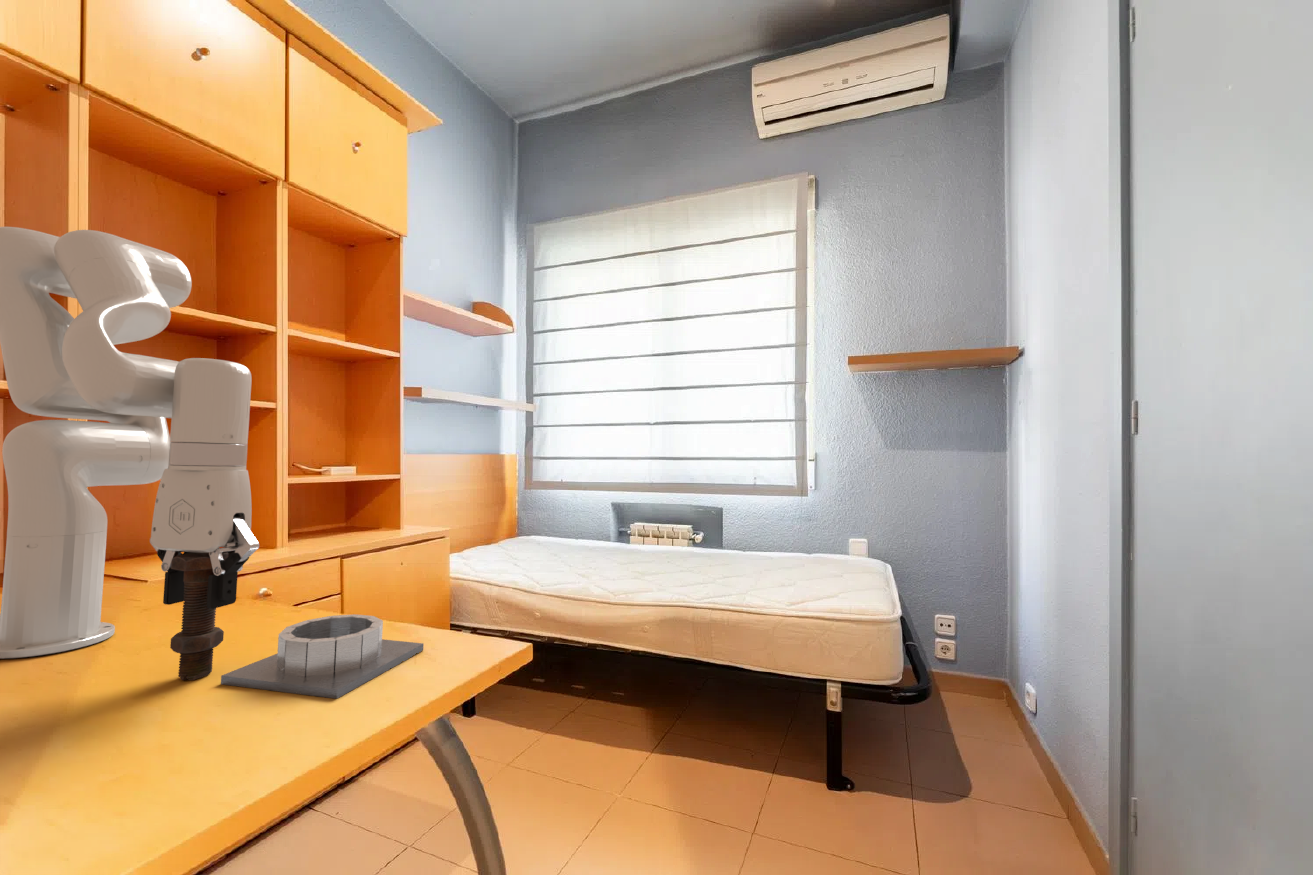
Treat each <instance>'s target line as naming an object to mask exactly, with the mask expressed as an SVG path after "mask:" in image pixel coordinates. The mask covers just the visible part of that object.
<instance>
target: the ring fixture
mask: <svg viewBox="0 0 1313 875" xmlns="http://www.w3.org/2000/svg"><path fill="white" fill-rule="evenodd" d="M383 624H384V620H383V619H380V618H378V617H377V616H374V615H367V614H366V615H364V614H354V613H353V614H342V615H338V614H337V615H329V616H324V617H318V618H313V619H306V620H302V621H299V622H298V623H295V624H291V625H289V626H286V627H285V628H283V630H282V631H281V632H280V633H278V641H277V653H275V654H272V655H270V656H268V657H265V658H262V659H259V660H257V661H255V662H252V663H250V664H247V665H245V666H242V667H240V668H237V669H234V670H231V671H229V672H227V673H224V674H222V675H221V676H220V685H226V686H233V687H240V688H241V687H242V688H249V689H257V690H264V691H271V692H272V691H273V692H278V693H279V692H280V693H289V694H297V695H304V696H313V697H321V698H329V699H335V700H337V699H339V698H341V697H342V696H345V695H347V694H348V693H350V692H351V691H353V690H355V689H357V688H359V687H360V686H362V685H364V684H366V683H368V682H369V681H371V680H373V679H375V678H377V677H378V676H380V675H382V674H384V673H386V672H387V671H389V670H391V669H393V668H394V667H396V666H398V665H400V664H402V663H403V662H402V661H404V662H406V661H407V660H409V659H411V658H413V657H414V656H416V655H417V654H416V653H418V654H419V652H420V653H421V651H422V650H423V651H424V643H423V642H413V641H402V640H393V639H392V640H391V639H383V629H384V628H383V627H384V626H383ZM423 651H422V652H423ZM415 654H416V655H415ZM413 655H414V656H413ZM412 656H413V657H412ZM410 657H411V658H410ZM408 658H409V659H408ZM401 662H402V663H401ZM390 668H391V669H390ZM385 671H386V672H385Z"/></svg>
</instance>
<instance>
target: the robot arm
mask: <svg viewBox="0 0 1313 875" xmlns="http://www.w3.org/2000/svg"><path fill="white" fill-rule="evenodd" d="M192 283H193V281H192V276H191V273H190V271H189V269H188V267H187V265H185V263H184V262H183V261H182V260H181V259H179V258H178V257H177V256H176V255H174V254H172V253H170V252H167V251H164V250H161V249H159V248H155V247H153V246H150V245H146V244H143V243H140V242H137V241H133V240H130V239H128V238H127V239H126V238H124V237H120V236H119V235H116V234H112V233H108V232H104V231H100V230H94V229H93V230H92V229H77V230H72V231H69V232H66V233H65V234H63V235H61V236H57V235H53V234H50V233H46V232H43V231H39V230H34V229H29V228H25V227H18V226H0V349H1V355H2V362H3V367H4V373H5V378H6V384H7V388H8V392H9V396H10V398H11V401H12V402H13V404H14V405H15V406H16V408H17V409H19V410H20V411H21V412H23V413H26V414H30V415H33V416H41V417H47V418H55V419H41V420H34V421H29V422H25V423H22V424H20V425H18V426H16V427H14V428H13V429H11V431H10V432H8V433H7V435H6V436H5V438H4V440H3V444H2V450H1V452H2V462H3V468H4V472H5V478H6V485H7V496H8V499H7V500H8V502H7V503H8V505H7V506H8V507H7V508H8V513H7V515H8V516H7V529H6V542H5V543H6V544H5V545H6V546H5V557H4V569H3V579H2V580H3V581H2V592H1V593H2V594H1V606H0V659H18V658H28V657H29V658H31V657H37V656H45V655H52V654H56V653H61V652H62V653H63V652H67V651H71V650H76V649H80V648H84V647H87V646H91V645H93V644H97V643H100V642H102V641H106V640H107V639H109V638H111V637H112V636H113V635H115V631H116V626H115V625H114V624H113V623H110V622H105V621H101V620H102V619H101V618H102V604H103V591H104V578H105V577H104V575H105V563H106V553H107V552H106V551H107V550H106V549H107V537H108V536H107V534H108V514H107V512H106V510H105V508H104V507H103V505H102V504H101V503H100V502H99V501H98V498H96V497H95V496H94V495H93V494H92V492H90V491H89V489H88V487H89V488H90V487H98V486H99V487H102V486H106V487H107V486H108V487H109V486H133V485H135V486H136V485H138V486H139V485H146V484H147V485H148V484H152V483H156V482H158V481H159V484H158V488H157V492H156V495H155V496H156V497H155V502H154V509H153V514H152V522H151V531H150V537H149V544H150V545H151V546H152V548H153V549H154V550H155V551H156V554H157V556H158V558H159V560H160V561H161V562H162V563H161V566H160V568H161V570H162V571H163V572H164V581H163V582H164V586H163V600H162V602H163V605H166V606H167V605H174V604H178V603H179V604H180V603H183V602H185V601H184V594H185V593H184V591H185V590H184V588H185V587H184V586H185V585H184V581H183V579H184V571H181V570H175V569H171V561H172V559H173V558H174V557H176V556H177V555H180V554H184V553H191V552H199V553H208V552H209V555H210V559H211V564H212V568H213V572H214V574H215V575H210V576H209V578H208V592H207V608H209V609H214V608H216V609H218V608H221V607H224V606H229V605H233V604H235V602H236V601H237V590H238V589H237V588H238V575H239V574H238V573H239V572H240V571H242V570H243V569H244V568H243V567H244V564H246V563H247V561H248V560H249V559H250V557H251V556H252V555H253V554H255V552H256V551H257V550H259V548H260V543H259V541H258V540H257V538H256V536H254V534H253V532H252V516H253V515H252V511H253V509H252V505H253V504H252V491H251V482H250V475H249V470H248V469H247V463H248V462H247V461H248V446H249V445H248V444H249V443H248V440H249V427H250V415H251V414H250V411H251V396H252V395H251V393H252V380H253V379H252V373H251V371H250V369H249V368H248V367H247V366H245V365H244V364H241V363H239V362H235V361H230V360H225V359H219V358H218V359H217V358H215V359H214V358H205V357H204V358H203V357H202V358H201V357H191V358H185V359H182V360H180V361H177V360H172V359H166V358H160V357H154V356H148V355H144V354H143V355H142V354H136V353H127V352H123V351H120V350H118V348H116V346H115V345H120V344H121V345H122V344H127V343H133V342H137V341H138V342H139V341H143V340H146V339H149V338H152V337H154V336H156V335H158V334H160V333H161V332H163V331H164V330H165V329H166V328H167V327H168V325H169V323H170V321H171V319H172V318H171V317H172V312H171V308H176V307H178V306H180V305H182V304H183V303H184V302H185V301H186V300H187V299H188V298H189V296H190V294H191V291H192ZM50 294H55V295H58V296H63V297H67V298H72V299H76V300H77V302H78V304H79V305H80V307H81V310H82V311H81V312H80V313H79V314H77V316H76V317H75V318H74V317H73V315H72V314H71V313H70V312H69V311H68V310H67V309H66V308H64V306H62V305H61V304H60V303H58V302H57V301H56V300H55V299H54V298H52V297H51V295H50ZM56 418H59V419H56ZM74 419H75V420H74ZM167 419H171V420H170V421H171V422H170V430H169V426H168V422H167ZM90 420H91V421H90ZM100 421H101V422H100ZM103 421H104V422H103ZM225 553H228V557H227V558H226V559H225V561H224V560H223V556H222V554H225Z"/></svg>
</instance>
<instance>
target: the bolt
mask: <svg viewBox="0 0 1313 875" xmlns="http://www.w3.org/2000/svg"><path fill="white" fill-rule="evenodd" d="M183 553H184V552H183ZM183 553H182V554H180V555H177V556H176V557H174V558H173V559H172V561H171V569H175V570H181V571H184V579H183V581H184V585H185V586H184V587H185V588H184V590H185V591H184V593H185V594H184V601H183V602H182V603H183V605H182V611H181V612H182V614H181V615H182V616H181V621H182V622H181V631H179V632H177V633H175V635H173V636H172V637H171V638H170V649H171V650H172V651H173V652H174V653H176V654H179V664H178V665H179V666H178V672H177V674H178V675H177V676H178V678H179V679H180V680H182V681H185V680H188V681H195V680H198V679H200V678H203V677H206V676H208V675H210V674H211V673H212V671H213V659H214V658H213V657H214V648H216V647H218V646H219V645H221V643H222V642H223V641H224V633H225V632H224V630H223V629H222V628H221V627H219V626H216V617H217V616H216V615H217V614H216V612H217V608H214V609H209V608H207V592H208V578H209V576H210V575H215V574H214V572H213V568H212V564H211V559H210V555H209V552H208V553H199V552H191V553H184V554H183ZM222 556H223V560H224V561H225V559H226V558H227V557H228V553H225V554H222Z"/></svg>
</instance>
